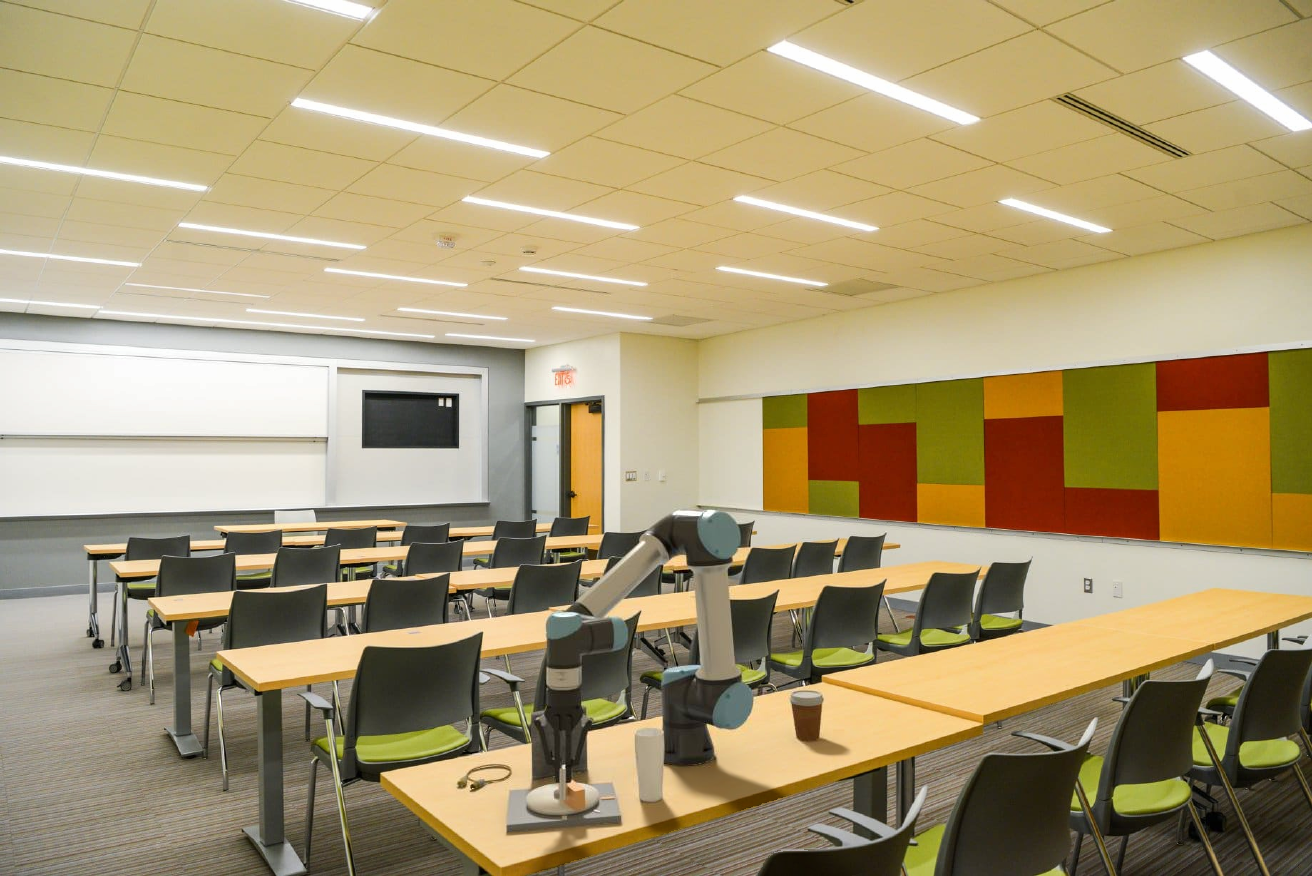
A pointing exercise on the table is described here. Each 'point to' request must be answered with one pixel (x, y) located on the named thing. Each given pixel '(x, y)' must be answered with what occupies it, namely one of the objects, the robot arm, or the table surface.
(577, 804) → the dial
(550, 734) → the flask
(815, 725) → the disposable coffee cup
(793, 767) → the table surface
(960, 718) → the table surface
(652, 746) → the drinking glass
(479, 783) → the extension cord
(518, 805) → the dial housing
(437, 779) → the table surface
